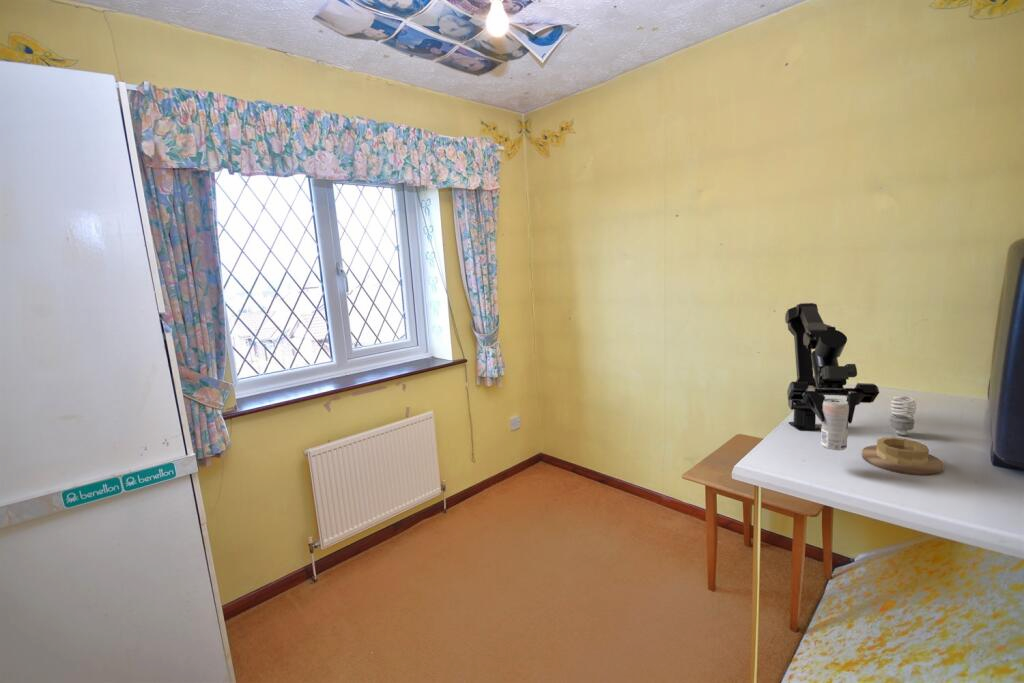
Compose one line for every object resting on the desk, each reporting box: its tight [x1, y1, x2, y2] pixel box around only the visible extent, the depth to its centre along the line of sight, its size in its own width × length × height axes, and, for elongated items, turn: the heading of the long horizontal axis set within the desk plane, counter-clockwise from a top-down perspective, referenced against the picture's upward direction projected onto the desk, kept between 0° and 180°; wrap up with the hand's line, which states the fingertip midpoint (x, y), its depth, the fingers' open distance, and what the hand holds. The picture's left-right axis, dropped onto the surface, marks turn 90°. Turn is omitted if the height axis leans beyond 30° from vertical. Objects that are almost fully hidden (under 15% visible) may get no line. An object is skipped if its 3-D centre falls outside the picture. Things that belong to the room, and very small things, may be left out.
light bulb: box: [889, 395, 917, 436], centre depth 130 cm, size 6×6×12 cm
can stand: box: [861, 436, 945, 477], centre depth 115 cm, size 16×16×5 cm
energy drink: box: [820, 398, 849, 452], centre depth 112 cm, size 5×5×12 cm
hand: (836, 422), depth 110 cm, fingers closed on energy drink, 5 cm apart
